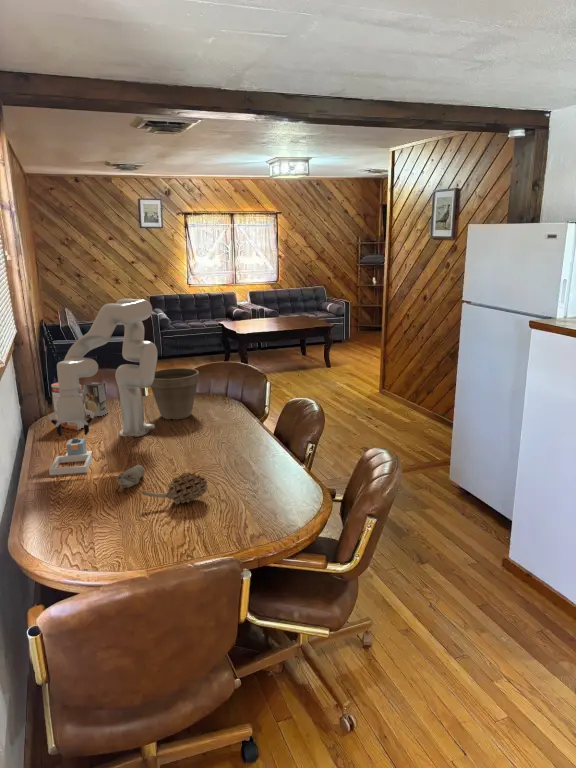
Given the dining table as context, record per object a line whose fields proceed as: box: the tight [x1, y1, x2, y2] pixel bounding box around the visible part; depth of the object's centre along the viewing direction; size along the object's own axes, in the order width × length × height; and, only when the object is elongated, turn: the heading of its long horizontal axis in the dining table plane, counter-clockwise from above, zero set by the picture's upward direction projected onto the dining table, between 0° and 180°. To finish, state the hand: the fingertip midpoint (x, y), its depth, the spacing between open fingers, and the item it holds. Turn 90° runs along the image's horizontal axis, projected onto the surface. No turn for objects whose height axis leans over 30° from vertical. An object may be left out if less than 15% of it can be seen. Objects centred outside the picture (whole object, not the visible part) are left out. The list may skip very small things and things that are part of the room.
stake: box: [64, 437, 93, 456], centre depth 224 cm, size 10×9×8 cm
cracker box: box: [50, 382, 87, 431], centre depth 261 cm, size 14×6×21 cm, turn 62°
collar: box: [65, 438, 88, 455], centre depth 224 cm, size 6×7×6 cm
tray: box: [48, 453, 93, 477], centre depth 214 cm, size 13×13×4 cm
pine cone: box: [139, 471, 209, 505], centre depth 184 cm, size 22×10×10 cm, turn 108°
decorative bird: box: [114, 464, 145, 496], centre depth 198 cm, size 5×16×7 cm, turn 167°
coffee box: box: [82, 381, 109, 417], centre depth 280 cm, size 9×6×16 cm
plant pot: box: [150, 367, 200, 420], centre depth 276 cm, size 25×25×22 cm
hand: (73, 434), depth 222 cm, fingers open, 9 cm apart
